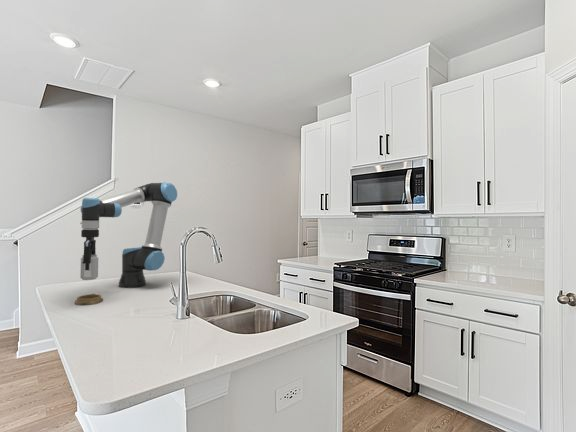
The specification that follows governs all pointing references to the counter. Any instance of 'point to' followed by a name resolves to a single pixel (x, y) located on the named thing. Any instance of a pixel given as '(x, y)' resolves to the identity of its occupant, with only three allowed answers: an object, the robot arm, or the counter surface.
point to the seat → (88, 299)
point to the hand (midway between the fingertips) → (89, 275)
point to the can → (93, 268)
